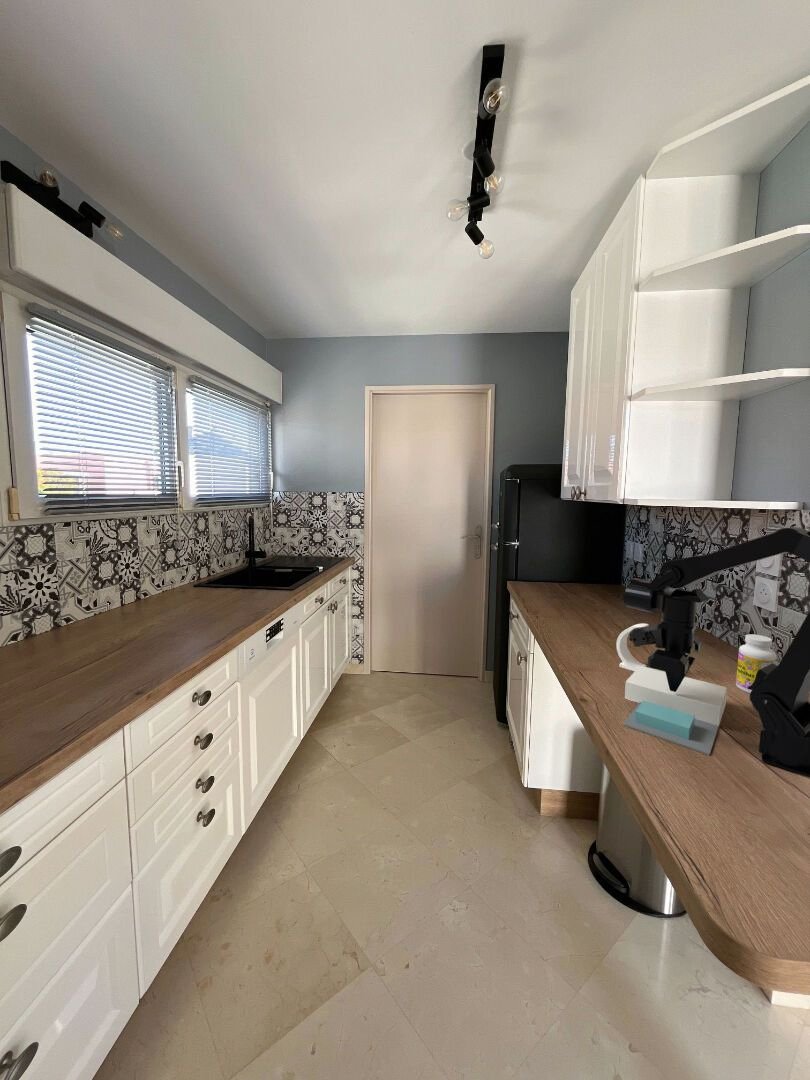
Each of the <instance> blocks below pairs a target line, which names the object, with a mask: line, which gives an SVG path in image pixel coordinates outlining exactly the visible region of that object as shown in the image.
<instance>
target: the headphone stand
mask: <svg viewBox="0 0 810 1080" xmlns="http://www.w3.org/2000/svg"><path fill="white" fill-rule="evenodd" d="M646 626H650V625H649V623H637V624H634V625H632V626H630V627H628V628H626V629H624V630H623V631H622V632H621V633H619V635H618V636H617V639H616V643H615V644H616V653H617V654H618V657H619V659H620V660H621V661H622V662H620V663H619V667H620V668H622V669H624V670H625V669H626V670H629V671H633V672H635V671H636V670H637V668H638V667H639V666H644V667H647V664H644V663H642V662H640V661H638V660H637V659H636V658H635V657H634V656H633V654H631V652H630V650H629V647H628V642H627V640H628V636H630V634H629V632H630V631H631V630H633V629H634V628H638V627H646Z"/></svg>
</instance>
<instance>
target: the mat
mask: <svg viewBox="0 0 810 1080" xmlns="http://www.w3.org/2000/svg"><path fill="white" fill-rule="evenodd" d="M641 703H642V702H639V703H637V705H636V706H635V708H634V709H633V710H632V711H631V712H630V714H629V715H628V716H627V718H626V720H625V721H624V723H623V724H622V726H624V727H627V728H629V729H632V730H635V731H638V732H641V733H644V734H647V735H649V736H653V737H656V738H658V739H661V740H664V741H667V742H669V743H672V744H675V745H677V746H678V745H679V746H682V747H684V748H687V749H690V750H693V751H696V752H698V753H702V754H704V755H707V756H711V752H712V748H713V746H714V743H715V740H716V736H717V734H718V730H719V728H720V725H719V726H717V725H714V724H710V723H707V722H704V721H701V720H697V719H695V720H694V728H693V730H692V732H691V735H690V737H689V740H688V739H685V738H682V737H679V736H676V735H673V734H670V733H667V732H664V731H661V730H658V729H655V728H652V727H649V726H646V725H643V724H640V723H637V722H635V714H636V710H637V709H638V707H639V706H640V705H641Z"/></svg>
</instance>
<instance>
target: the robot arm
mask: <svg viewBox="0 0 810 1080" xmlns="http://www.w3.org/2000/svg"><path fill="white" fill-rule="evenodd" d="M785 553H788V554H791V555H794V556H796V557H798V558H800V559H802V560H804V561H806V562H808V563H810V530H806V529H804V528H803V527H800V526H799V527H798V526H791V527H784V528H779V529H777V530H776V531H774V532H772V533H769V534H766V535H763V536H759V537H757V538H754V539H750V540H747V541H744V542H742V543H738V544H734V545H731V546H729V547H726V548H723V549H720V550H716V551H714V552H710V553H707V554H702V555H701V554H700V555H696V556H690V557H689V556H688V557H683V558H675V559H670V560H667V561H664V562H663V563H662V564H661V567H660V568H659V569H660V570H659V572H658V574H657V575H656V576H655V577H654V578H653V580H652V581H649V580H645V579H642V578H637V577H635V578H631V579H629V584H628V586H627V587H626V588H625V591H624V593H623V599H622V600H623V604H624V605H625V606H626V607H627V608H631V609H635V610H639V611H641V612H642V611H643V612H648V613H649V614H650V613H651V614H657V613H658V612H659V611H661V621H660V622H658V623H657V625H649V626H646V627H638V628H634V629H633V630H631V631H630V632H629V638H628V640H629V641H630V642H632V645H633V647H639V648H640V647H641V646H649V645H651V646H652V645H655V646H654V647H655V648H657V649H656V650H654V651H652V652H650V654H649V656H648V657H647V667H648V668H652V669H656V670H660V671H664V672H666V676H667V681H668V685H669V689H670V691H673V692H676V691H677V689H678V687H679V686H680V684H681V682H682V681H683V679H684V677H687V674H688V672H689V671H690V669H691V667H692V665H693V664H694V662H695V661H696V658H695V657H694V656H689V655H691V654H692V652H693V651H694V652H695V653H700V651H701V645H702V641H701V640H700V639H699V637H698V636H695V631H696V629H697V623H695V622H696V613H697V612H696V608H697V603H698V604H700V603H704V602H707V601H709V600H710V598H709V596H708V595H706V594H705V593H704V592H703V591H702V589H701V588H699V587H698V588H695V589H692V590H687V589H682V588H686V587H690V586H693V585H694V586H695V585H698V584H699V583H701V582H704V581H705V580H708V579H709V578H711V577H713V576H715V575H717V574H719V573H720V572H723V571H726V570H729V569H734V568H736V567H739V566H743V565H748V564H751V563H754V562H757V561H761V560H764V559H768V558H772V557H776V556H778V555H782V554H785ZM666 589H675V590H673V591H671V590H666ZM663 649H664V650H663ZM748 689H750V690H752V691H751V693H749V701H750V702H751V705H752V707H753V708H754V709H755V710H756V712H757V713H758V716H759V718H760V719H759V720H760V722H761V726H760V733H759V734H760V735H759V743H758V752H759V753H760V754H761V762H763V763H766V764H769V765H771V766H775V767H778V768H780V769H783V770H786V771H790V772H792V773H796V774H799V775H801V776H805V777H807V778H810V701H809V700H808V699H809V696H810V610H809V611H808V613H807V615H806V616H805V619H804V620H803V622H802V623H801V625H800V627H799V629H798V631H797V632H796V634H795V635H794V637H793V639H792V641H791V642H790V645H789V646H788V648H787V649H786V651H785V653H784V655H783V656H782V658H781V660H780V662H779V663H778V665H776V664H774V663H771V664H769V665H767V666H765V667H763V668H761V669H759V670H758V672H757V674H756V677H755V681H754V683H753V684H752V685H751V686H749V687H748Z"/></svg>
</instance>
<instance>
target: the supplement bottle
mask: <svg viewBox="0 0 810 1080" xmlns="http://www.w3.org/2000/svg"><path fill="white" fill-rule="evenodd" d="M744 640H745V644H742V645H740V646H739V649H738V658H737V668H736V677H735V678H736V679H735V685H736V687H737V688H738V689H739V690H741V691H743V692H744V693H748V694H750V693H751V691H752V690H750V689H748V687H749V686H751V685H752V684H753V683H754V681H755V677H756V674H757V672H758V670H759V669H761V668H763V667H765V666H767V665H769V664H771V663H774V664H775V665H776V663H777V654H776V652H775V651H774V650H773V649H771V647H772V645H773V639H772V638H770V637H768V636H765V635H760V634H753V633H752V634H746V635H745V638H744Z"/></svg>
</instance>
